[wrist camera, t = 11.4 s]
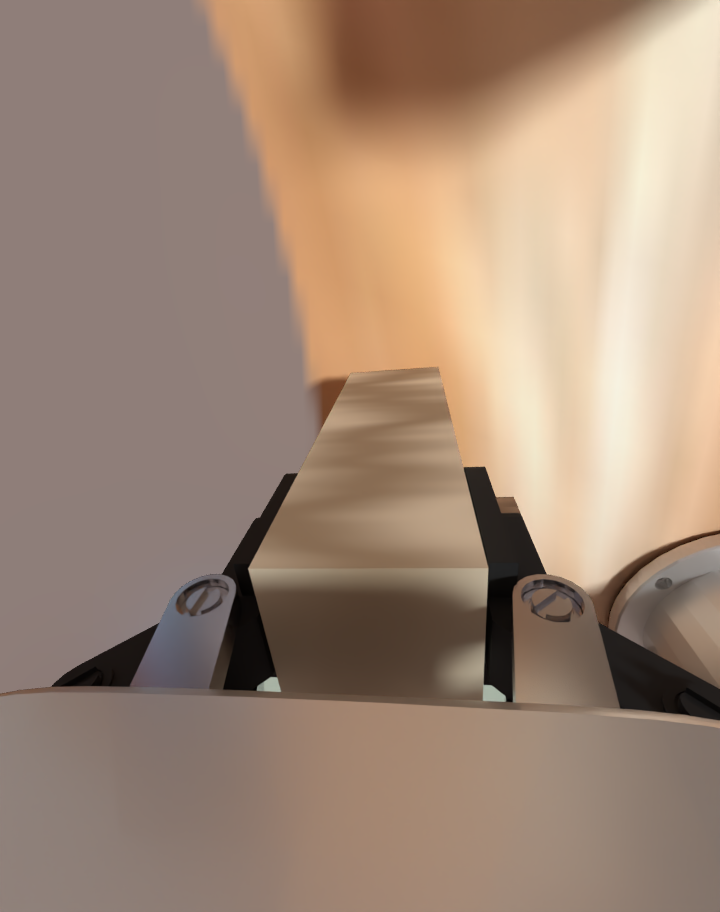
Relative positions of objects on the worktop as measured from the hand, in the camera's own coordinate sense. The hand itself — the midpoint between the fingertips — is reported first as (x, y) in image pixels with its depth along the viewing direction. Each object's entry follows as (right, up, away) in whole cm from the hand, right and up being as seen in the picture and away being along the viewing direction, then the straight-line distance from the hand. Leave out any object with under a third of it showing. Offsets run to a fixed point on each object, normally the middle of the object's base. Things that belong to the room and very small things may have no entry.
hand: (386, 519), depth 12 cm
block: (+1, +4, +8) cm, 9 cm away
